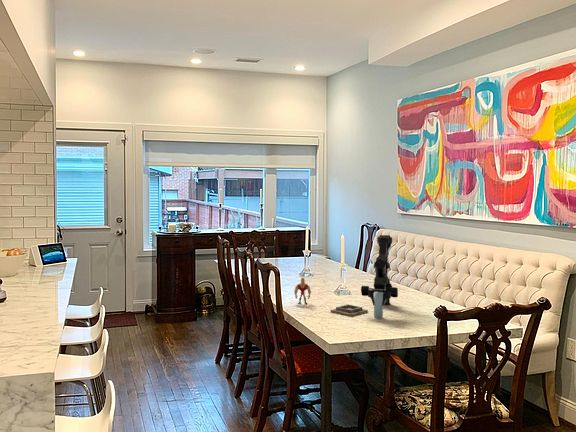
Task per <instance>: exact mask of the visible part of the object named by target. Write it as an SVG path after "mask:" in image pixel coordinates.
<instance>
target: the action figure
mask: <svg viewBox="0 0 576 432" xmlns="http://www.w3.org/2000/svg"><path fill="white" fill-rule="evenodd" d="M306 290H307V293H308V295H307V298H306V295H305V291H306ZM298 291H300V296H299V299H298V295H297V294H298ZM311 293H312V291H311V286H310V285H308V284H307V283H305V278H303V277H301V279H300V283H298V284H297V285H296V286H295V287H294V297H295V299H296V300H299V301H298V303H297V304H298V305H300V304H301V303H302V301H301V300H302V297H303V300H304V302H303V303H304V304H305V305H308V303H307V300H309V299H310V298H311Z"/></svg>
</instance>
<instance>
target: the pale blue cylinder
mask: <svg viewBox="0 0 576 432" xmlns="http://www.w3.org/2000/svg"><path fill="white" fill-rule="evenodd" d="M383 310H384V306H383V292H378V291H377V292H374V305H373V318H374V319H383V318H384V316H383V315H384V311H383Z"/></svg>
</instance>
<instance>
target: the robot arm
mask: <svg viewBox="0 0 576 432" xmlns="http://www.w3.org/2000/svg"><path fill="white" fill-rule="evenodd" d="M376 243H377V244H378V247H379V251H378V256H377V257H376V258H375V261H374V262H373V269H374V273H375V277H374V278H373V281H374V282H373V287H370V286H369V285H361V287H360V293H361V296H364V297H368V298H370V299H371V302H372V305H373V306H374V292H377V291H378V292H383V307H384V305H391V304H392V303H391V301H390V299H391V298H398V297H399V289H398V287H396V286H393V285H392V282H391V280H390V278H389V276H388V274H389V272H388V271H389V269H390V267H391V264H390V262H389V251H390V249H391V248H392V245H393V237H391V235H390V234H388V235H387V234H380V235H379V236H377V239H376Z"/></svg>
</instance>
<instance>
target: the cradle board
mask: <svg viewBox="0 0 576 432" xmlns="http://www.w3.org/2000/svg"><path fill="white" fill-rule="evenodd" d="M368 310H369V309H368ZM368 310H367V309H365V308H364V309H363V307H362V306H357V305H352V304H348V303H347V304H343V305H340V306H336V307H335V308H334V309H330V313H333V314H337V315H342V316H345V317H346V316H347V317H355V316H359V315H362V314H363V315H364V314H367V313H368Z"/></svg>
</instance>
